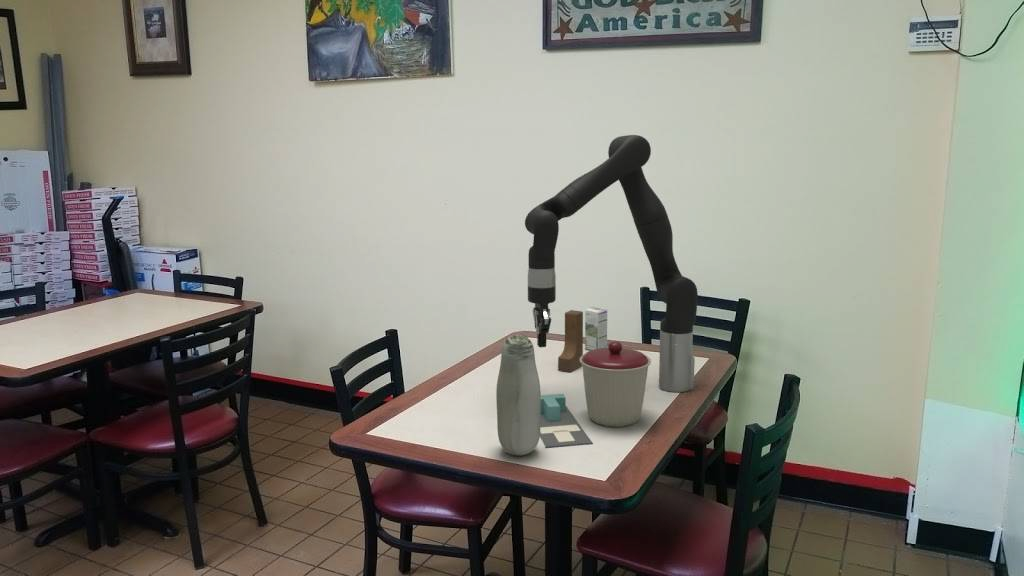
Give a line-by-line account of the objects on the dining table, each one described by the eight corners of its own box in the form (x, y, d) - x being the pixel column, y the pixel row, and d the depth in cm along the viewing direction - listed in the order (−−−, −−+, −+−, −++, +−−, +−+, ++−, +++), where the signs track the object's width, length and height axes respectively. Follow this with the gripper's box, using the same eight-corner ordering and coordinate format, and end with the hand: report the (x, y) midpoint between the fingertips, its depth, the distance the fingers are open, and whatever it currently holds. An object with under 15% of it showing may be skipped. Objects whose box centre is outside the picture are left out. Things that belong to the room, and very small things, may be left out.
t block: (562, 407, 202) (562, 393, 201) (571, 419, 193) (571, 405, 193) (530, 410, 201) (530, 396, 200) (537, 422, 192) (537, 407, 191)
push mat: (564, 404, 206) (564, 403, 206) (592, 444, 179) (592, 442, 179) (523, 407, 204) (523, 406, 204) (545, 448, 177) (545, 446, 177)
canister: (663, 419, 194) (665, 341, 190) (621, 439, 181) (622, 356, 177) (607, 403, 206) (608, 329, 202) (565, 421, 194) (564, 342, 190)
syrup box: (607, 349, 259) (608, 308, 256) (597, 352, 255) (597, 311, 252) (594, 346, 263) (595, 306, 260) (584, 349, 259) (584, 309, 256)
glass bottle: (543, 460, 170) (542, 341, 165) (498, 462, 169) (496, 343, 164) (538, 443, 180) (537, 330, 174) (496, 444, 179) (493, 331, 174)
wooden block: (570, 373, 233) (570, 317, 230) (557, 370, 236) (557, 315, 232) (583, 365, 241) (583, 311, 237) (570, 363, 243) (570, 309, 240)
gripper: (561, 288, 194) (560, 352, 198) (549, 279, 207) (549, 339, 211) (532, 289, 193) (533, 354, 196) (523, 280, 206) (523, 341, 209)
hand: (541, 346), depth 204 cm, fingers closed
